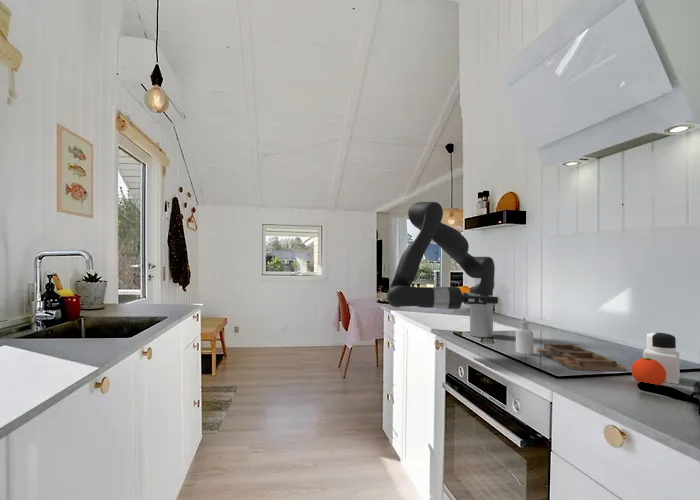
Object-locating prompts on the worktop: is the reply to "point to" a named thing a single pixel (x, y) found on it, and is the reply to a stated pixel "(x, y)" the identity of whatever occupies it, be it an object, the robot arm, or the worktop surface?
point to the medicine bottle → (664, 354)
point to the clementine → (648, 371)
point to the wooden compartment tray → (578, 358)
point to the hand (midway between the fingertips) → (492, 299)
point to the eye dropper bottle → (524, 339)
